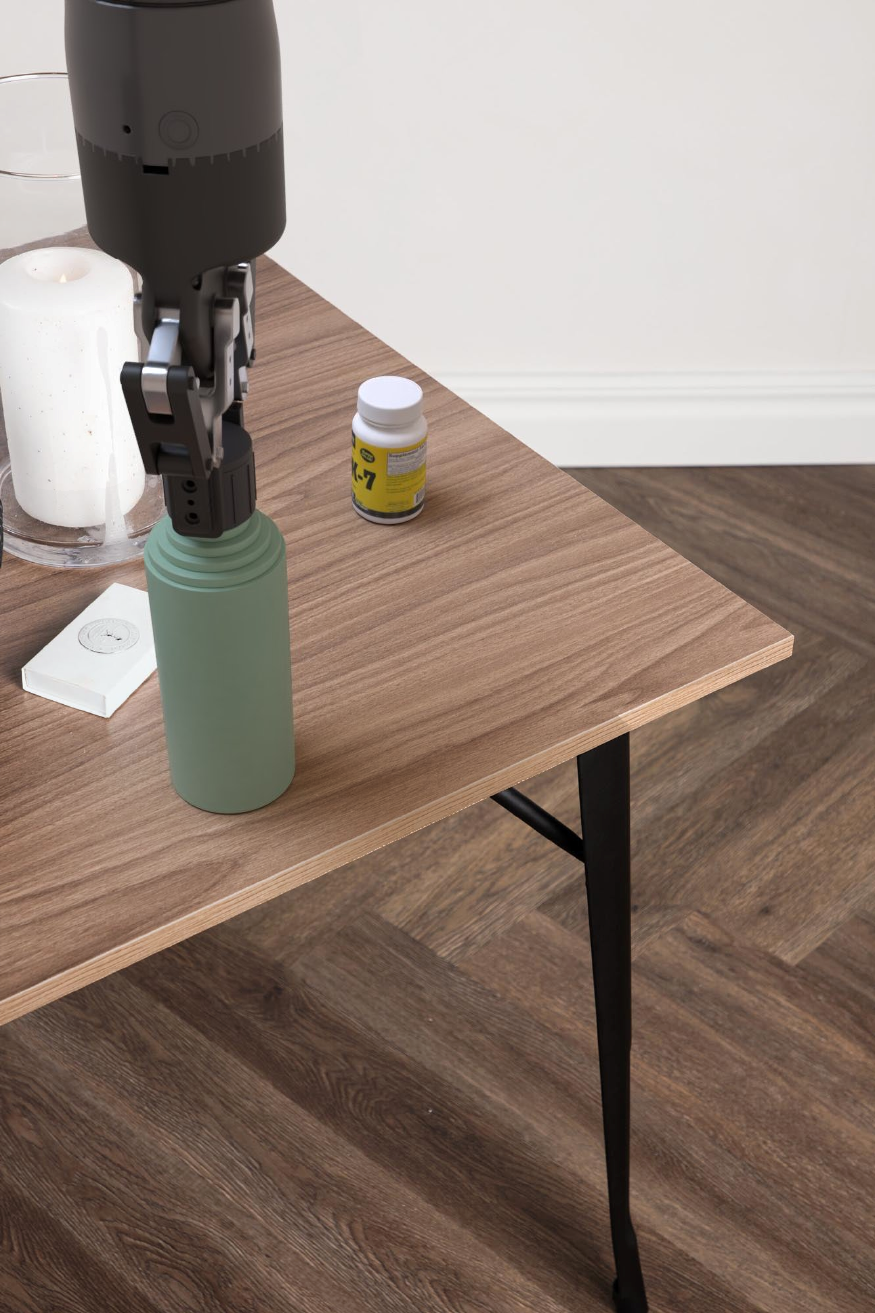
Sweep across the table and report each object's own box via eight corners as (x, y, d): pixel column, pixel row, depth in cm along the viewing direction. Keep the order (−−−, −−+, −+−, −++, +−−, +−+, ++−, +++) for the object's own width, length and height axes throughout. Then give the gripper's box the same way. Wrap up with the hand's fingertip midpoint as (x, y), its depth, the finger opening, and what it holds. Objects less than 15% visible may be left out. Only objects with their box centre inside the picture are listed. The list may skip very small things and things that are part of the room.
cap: (246, 536, 61) (242, 471, 59) (157, 528, 61) (149, 463, 59) (263, 486, 64) (260, 422, 62) (178, 479, 64) (172, 415, 62)
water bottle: (202, 831, 70) (168, 511, 57) (150, 752, 74) (108, 437, 62) (317, 785, 72) (308, 469, 60) (261, 711, 76) (242, 402, 64)
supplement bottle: (340, 493, 93) (339, 379, 87) (406, 478, 94) (409, 365, 89) (368, 533, 89) (369, 417, 84) (436, 517, 91) (442, 402, 86)
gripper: (127, 42, 57) (165, 414, 68) (14, 178, 46) (82, 595, 57) (312, 54, 57) (320, 427, 68) (242, 195, 46) (265, 610, 57)
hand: (211, 502), depth 62 cm, fingers closed on cap, 4 cm apart
